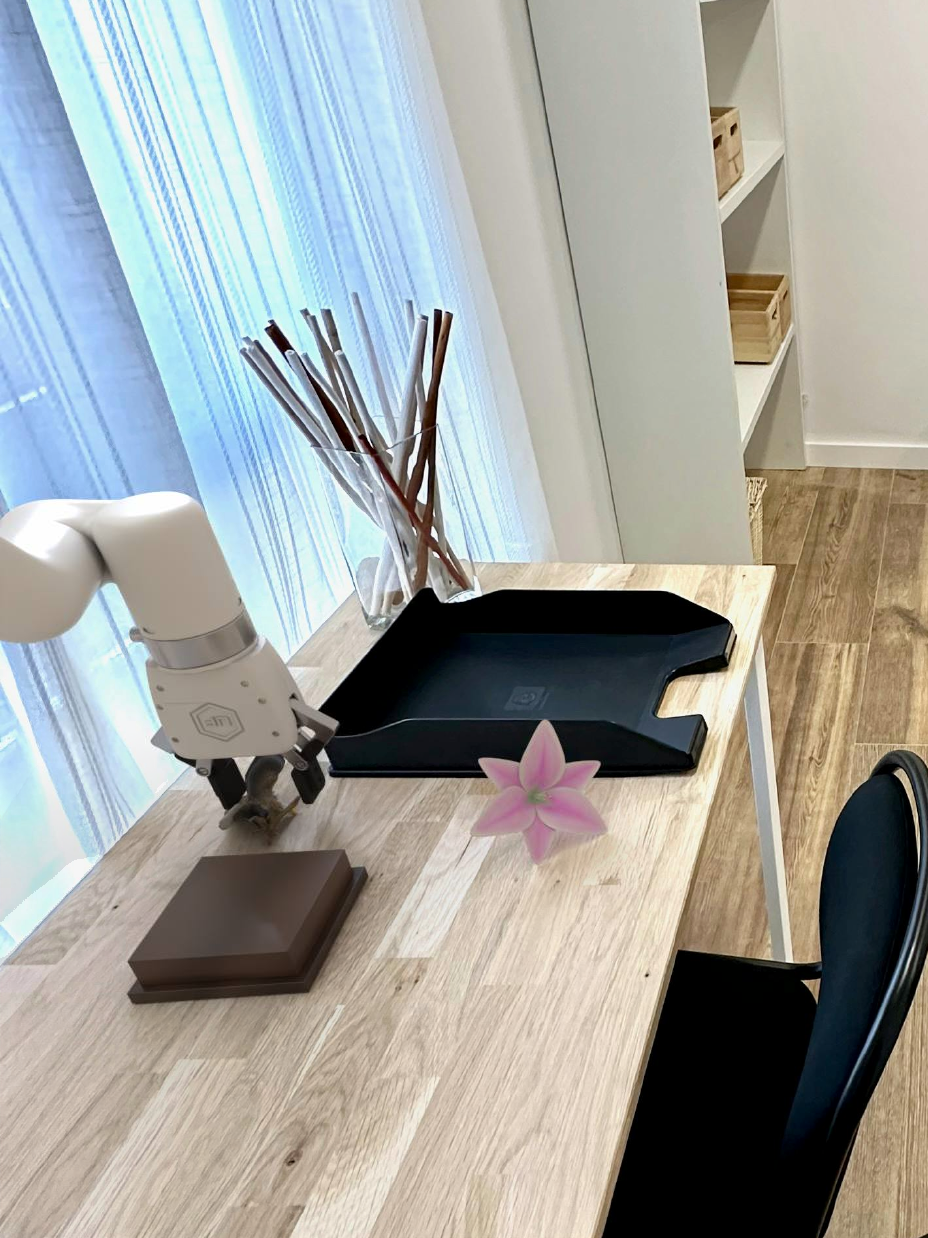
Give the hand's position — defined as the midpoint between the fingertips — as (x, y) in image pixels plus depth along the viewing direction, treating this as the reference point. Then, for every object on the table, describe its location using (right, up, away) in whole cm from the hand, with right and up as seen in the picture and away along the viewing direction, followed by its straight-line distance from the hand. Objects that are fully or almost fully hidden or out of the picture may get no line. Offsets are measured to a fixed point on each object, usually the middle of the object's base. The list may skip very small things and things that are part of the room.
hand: (275, 796), depth 102 cm
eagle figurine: (-1, -3, +1) cm, 3 cm away
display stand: (+6, -10, -11) cm, 16 cm away
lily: (+25, -4, +1) cm, 26 cm away
